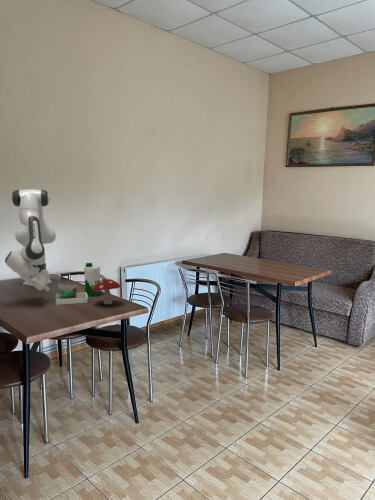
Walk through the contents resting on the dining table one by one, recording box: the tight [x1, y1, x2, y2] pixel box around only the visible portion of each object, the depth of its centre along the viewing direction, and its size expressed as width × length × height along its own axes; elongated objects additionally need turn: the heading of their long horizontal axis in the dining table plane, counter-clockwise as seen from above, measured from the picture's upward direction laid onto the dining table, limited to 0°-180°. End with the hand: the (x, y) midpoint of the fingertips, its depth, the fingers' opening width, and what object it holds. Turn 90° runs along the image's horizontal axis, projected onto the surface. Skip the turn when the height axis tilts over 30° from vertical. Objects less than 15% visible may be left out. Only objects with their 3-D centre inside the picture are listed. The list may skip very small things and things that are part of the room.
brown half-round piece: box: [57, 282, 78, 299], centre depth 227 cm, size 12×6×10 cm, turn 72°
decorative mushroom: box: [92, 277, 121, 305], centre depth 222 cm, size 16×16×15 cm
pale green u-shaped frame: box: [55, 291, 89, 306], centre depth 228 cm, size 13×18×3 cm
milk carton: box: [83, 262, 101, 297], centre depth 241 cm, size 9×9×20 cm
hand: (49, 290), depth 224 cm, fingers closed
